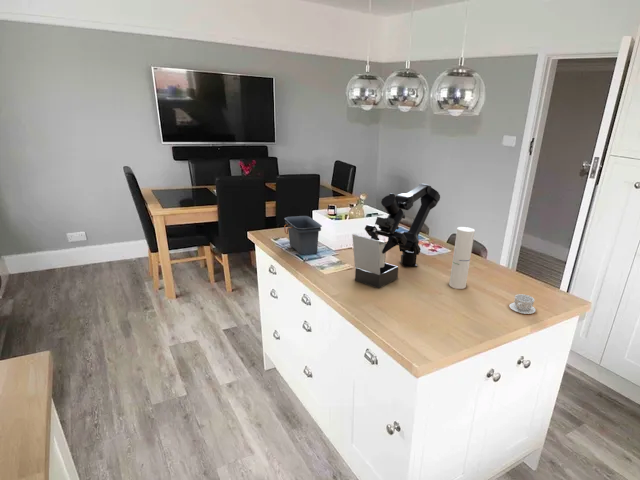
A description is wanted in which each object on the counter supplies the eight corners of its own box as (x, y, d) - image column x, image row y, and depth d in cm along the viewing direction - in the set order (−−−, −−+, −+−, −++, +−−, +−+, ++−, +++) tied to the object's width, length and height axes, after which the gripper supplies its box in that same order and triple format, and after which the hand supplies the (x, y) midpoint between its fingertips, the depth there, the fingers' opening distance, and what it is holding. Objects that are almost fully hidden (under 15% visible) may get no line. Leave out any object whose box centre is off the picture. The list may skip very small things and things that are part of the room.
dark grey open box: (374, 271, 188) (375, 259, 186) (397, 278, 183) (398, 266, 180) (354, 280, 177) (355, 267, 175) (378, 288, 171) (379, 275, 169)
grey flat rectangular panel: (353, 233, 167) (352, 234, 166) (378, 240, 161) (377, 241, 160) (356, 266, 175) (354, 267, 174) (380, 274, 169) (379, 274, 169)
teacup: (515, 301, 169) (517, 290, 167) (539, 309, 164) (541, 298, 162) (504, 308, 162) (507, 297, 160) (529, 317, 156) (532, 306, 154)
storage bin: (324, 254, 205) (324, 226, 199) (294, 258, 197) (293, 228, 191) (308, 242, 221) (307, 215, 215) (279, 245, 213) (278, 217, 207)
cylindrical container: (465, 289, 176) (474, 232, 166) (448, 287, 178) (456, 230, 167) (466, 283, 183) (475, 228, 172) (449, 281, 184) (457, 226, 173)
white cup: (386, 264, 179) (387, 241, 175) (382, 268, 174) (384, 245, 170) (372, 262, 180) (373, 239, 176) (369, 266, 175) (370, 243, 171)
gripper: (368, 205, 175) (350, 236, 171) (405, 213, 166) (388, 246, 162) (378, 220, 184) (361, 250, 181) (413, 229, 175) (397, 260, 171)
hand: (376, 251), depth 173 cm, fingers closed on white cup, 6 cm apart
